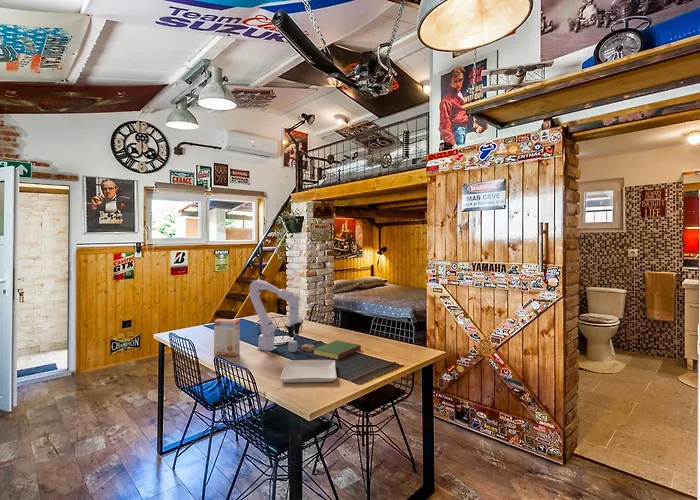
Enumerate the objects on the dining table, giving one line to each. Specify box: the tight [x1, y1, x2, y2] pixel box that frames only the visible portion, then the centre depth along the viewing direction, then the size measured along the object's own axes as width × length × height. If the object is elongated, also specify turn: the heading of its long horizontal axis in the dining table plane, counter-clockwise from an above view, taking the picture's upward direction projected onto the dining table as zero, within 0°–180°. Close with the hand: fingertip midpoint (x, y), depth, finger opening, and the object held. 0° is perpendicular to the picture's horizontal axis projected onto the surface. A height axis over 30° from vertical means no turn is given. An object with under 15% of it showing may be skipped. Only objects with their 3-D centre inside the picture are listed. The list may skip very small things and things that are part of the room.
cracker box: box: [213, 318, 241, 358], centre depth 227 cm, size 14×6×21 cm, turn 74°
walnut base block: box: [300, 343, 315, 353], centre depth 238 cm, size 6×6×3 cm
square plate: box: [279, 359, 338, 383], centre depth 195 cm, size 27×27×4 cm
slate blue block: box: [287, 339, 298, 353], centre depth 236 cm, size 4×4×6 cm
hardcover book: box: [313, 340, 362, 361], centre depth 235 cm, size 25×19×4 cm
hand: (293, 335), depth 236 cm, fingers open, 7 cm apart
